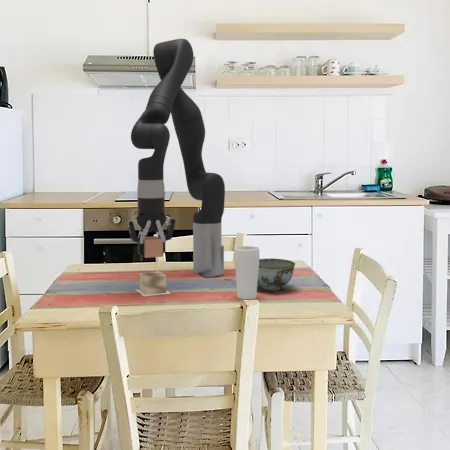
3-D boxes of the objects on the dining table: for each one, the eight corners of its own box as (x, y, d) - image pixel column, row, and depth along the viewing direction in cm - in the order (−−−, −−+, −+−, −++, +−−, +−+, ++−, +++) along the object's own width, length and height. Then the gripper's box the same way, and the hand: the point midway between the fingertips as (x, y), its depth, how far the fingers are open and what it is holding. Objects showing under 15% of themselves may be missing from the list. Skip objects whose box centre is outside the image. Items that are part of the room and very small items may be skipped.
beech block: (159, 288, 195) (159, 271, 194) (166, 292, 189) (166, 275, 188) (139, 290, 192) (139, 273, 191) (145, 295, 187) (145, 277, 186)
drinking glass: (230, 299, 187) (230, 246, 185) (252, 297, 190) (252, 245, 187) (240, 305, 181) (241, 250, 179) (263, 302, 183) (263, 249, 181)
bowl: (242, 292, 195) (242, 265, 194) (256, 282, 208) (256, 256, 207) (288, 296, 191) (288, 268, 190) (299, 285, 203) (299, 259, 202)
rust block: (157, 253, 192) (157, 236, 192) (162, 256, 188) (162, 239, 187) (140, 254, 190) (140, 237, 190) (145, 257, 186) (145, 240, 185)
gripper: (171, 193, 193) (171, 251, 195) (122, 195, 187) (123, 255, 190) (179, 196, 186) (180, 256, 189) (129, 197, 181) (130, 259, 183)
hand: (151, 255), depth 189 cm, fingers closed on rust block, 5 cm apart
